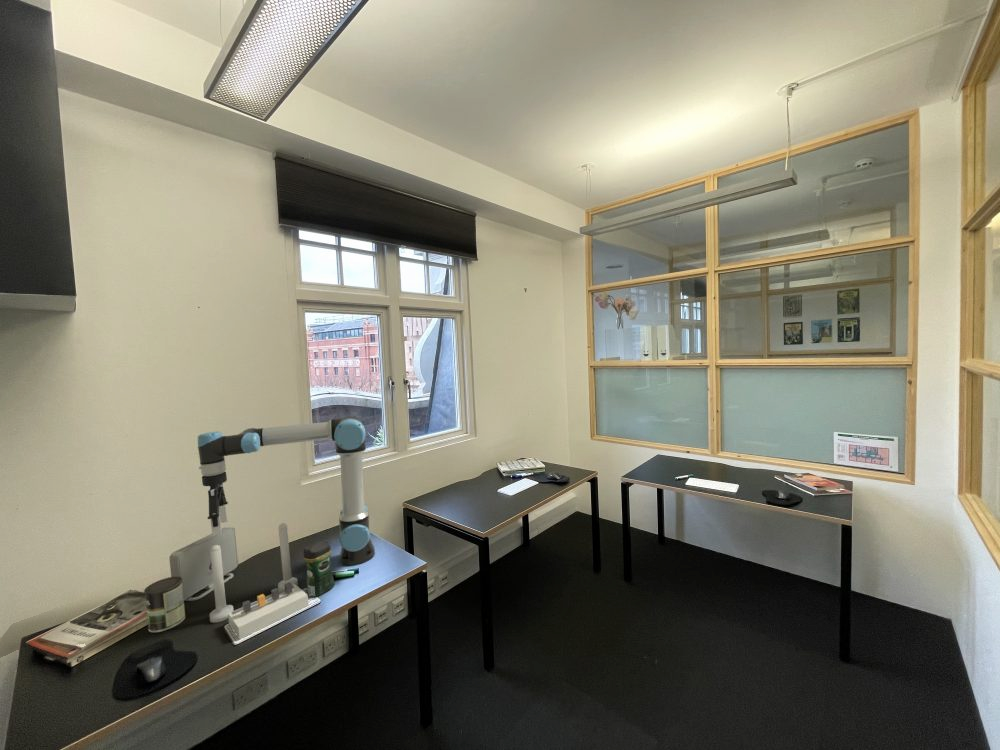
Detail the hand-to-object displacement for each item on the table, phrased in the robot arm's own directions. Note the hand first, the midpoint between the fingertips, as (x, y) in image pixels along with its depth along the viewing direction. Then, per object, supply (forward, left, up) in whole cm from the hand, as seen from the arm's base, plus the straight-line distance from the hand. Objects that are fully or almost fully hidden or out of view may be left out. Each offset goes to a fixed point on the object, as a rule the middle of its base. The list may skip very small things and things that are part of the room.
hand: (220, 528), depth 152 cm
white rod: (-21, 0, -28) cm, 35 cm away
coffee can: (+17, +6, -29) cm, 34 cm away
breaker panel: (-17, +18, -28) cm, 38 cm away
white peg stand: (-1, +11, -28) cm, 30 cm away
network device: (+11, -16, -29) cm, 34 cm away
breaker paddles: (-17, +18, -23) cm, 34 cm away
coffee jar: (-33, +9, -29) cm, 45 cm away
